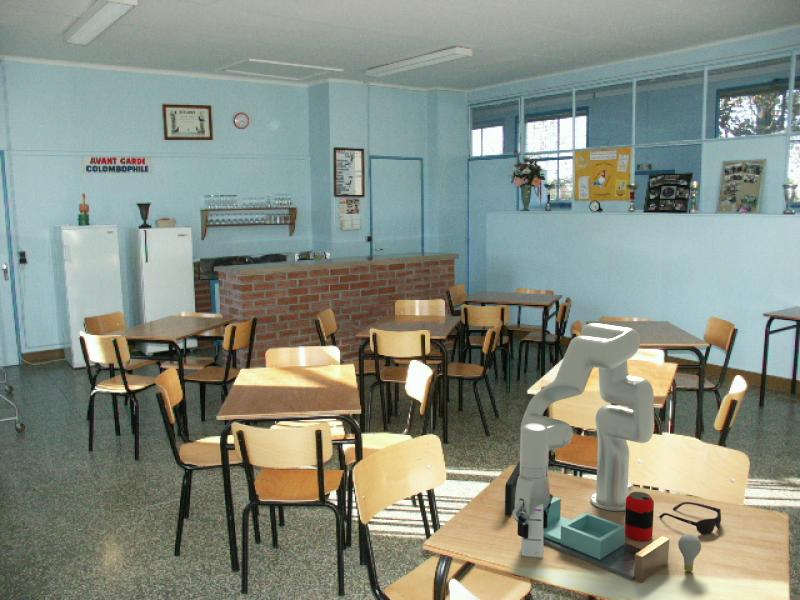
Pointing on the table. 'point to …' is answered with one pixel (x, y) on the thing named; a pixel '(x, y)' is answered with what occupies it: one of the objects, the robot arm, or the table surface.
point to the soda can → (639, 516)
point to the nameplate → (511, 490)
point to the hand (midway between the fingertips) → (532, 531)
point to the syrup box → (534, 534)
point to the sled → (584, 532)
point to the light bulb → (689, 550)
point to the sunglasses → (702, 525)
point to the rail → (626, 558)
